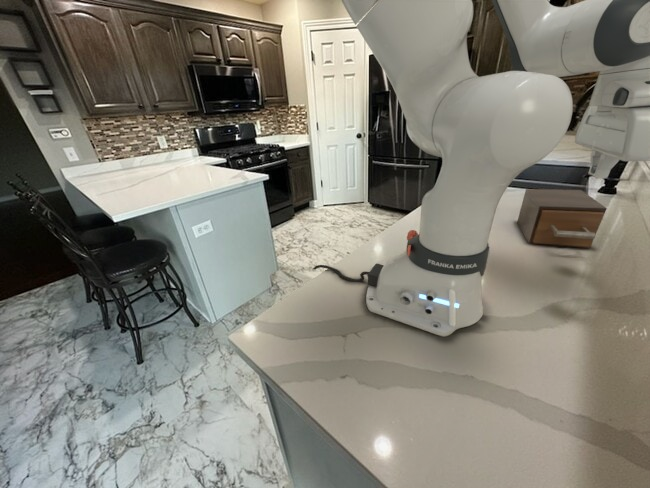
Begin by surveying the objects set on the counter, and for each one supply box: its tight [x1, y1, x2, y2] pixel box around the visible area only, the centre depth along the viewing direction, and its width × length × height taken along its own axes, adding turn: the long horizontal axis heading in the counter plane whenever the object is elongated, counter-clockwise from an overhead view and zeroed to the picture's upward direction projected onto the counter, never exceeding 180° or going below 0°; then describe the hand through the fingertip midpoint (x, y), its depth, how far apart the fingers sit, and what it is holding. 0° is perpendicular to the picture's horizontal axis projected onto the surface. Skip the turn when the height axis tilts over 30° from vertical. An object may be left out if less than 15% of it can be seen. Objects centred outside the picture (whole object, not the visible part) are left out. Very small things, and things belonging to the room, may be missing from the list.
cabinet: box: [516, 188, 607, 249], centre depth 71 cm, size 15×13×11 cm
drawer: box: [532, 209, 605, 248], centre depth 67 cm, size 18×11×9 cm, turn 157°
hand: (596, 176), depth 49 cm, fingers closed
